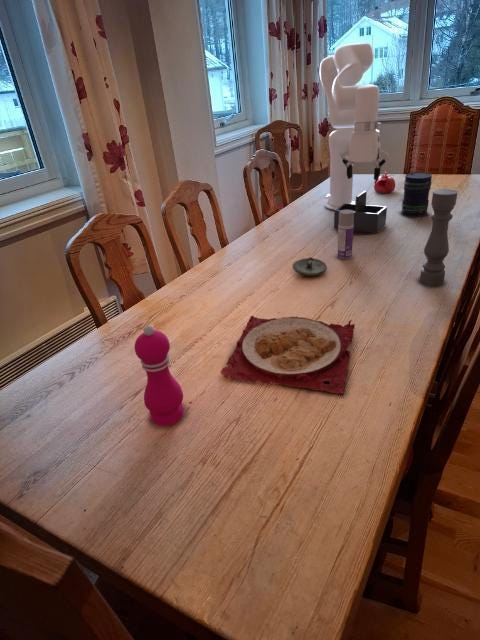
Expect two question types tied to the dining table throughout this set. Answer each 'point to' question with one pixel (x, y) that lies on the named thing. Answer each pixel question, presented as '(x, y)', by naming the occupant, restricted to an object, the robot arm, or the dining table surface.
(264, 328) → the plate with food
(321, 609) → the dining table surface
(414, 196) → the storage jar
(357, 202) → the bin
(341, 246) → the container
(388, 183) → the pomegranate
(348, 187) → the robot arm
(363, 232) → the turntable
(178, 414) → the pepper mill
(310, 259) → the lid
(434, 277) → the candle holder
